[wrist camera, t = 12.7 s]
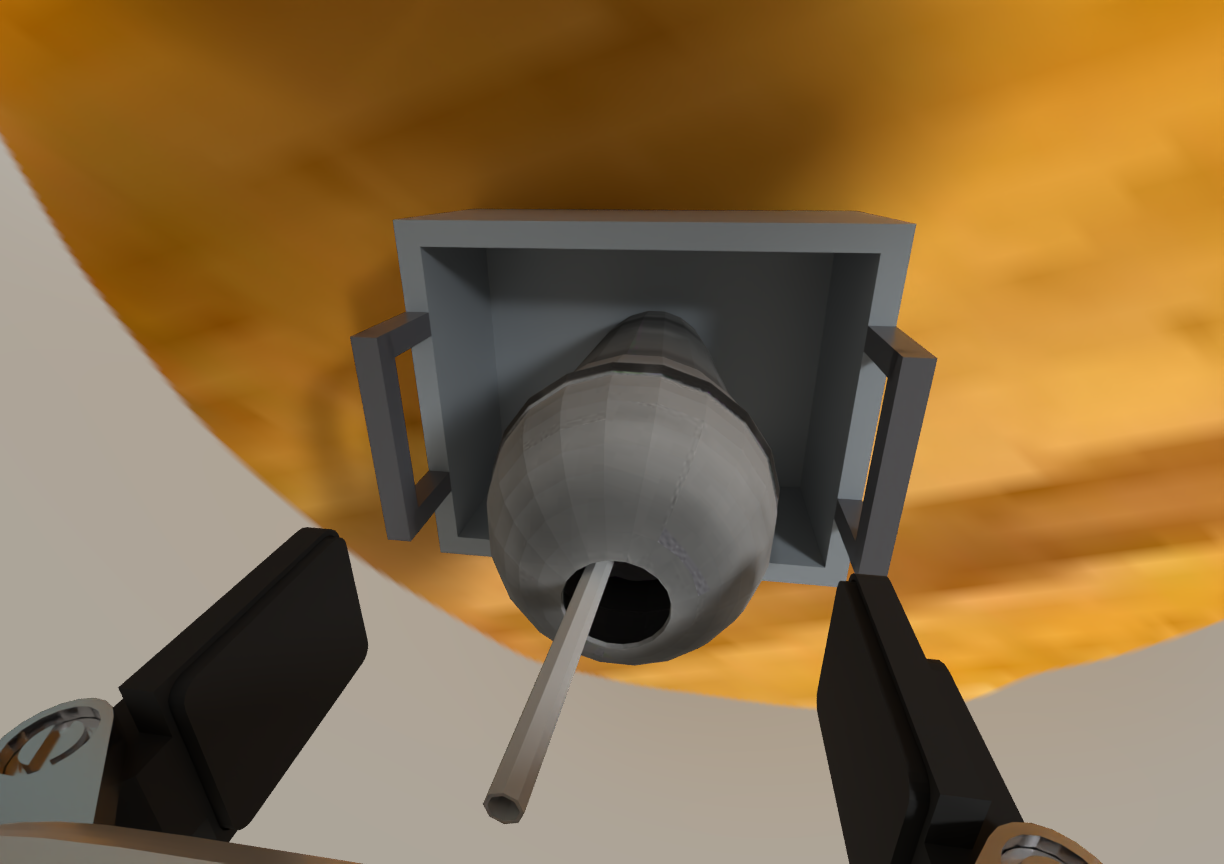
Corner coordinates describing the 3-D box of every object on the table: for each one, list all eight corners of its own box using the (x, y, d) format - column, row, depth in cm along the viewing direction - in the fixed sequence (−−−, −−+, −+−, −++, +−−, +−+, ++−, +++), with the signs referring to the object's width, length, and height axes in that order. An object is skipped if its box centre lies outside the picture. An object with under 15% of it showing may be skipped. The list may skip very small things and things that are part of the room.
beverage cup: (647, 468, 27) (575, 1060, 9) (536, 355, 26) (179, 810, 7) (775, 369, 25) (1027, 927, 7) (660, 237, 23) (573, 496, 5)
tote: (856, 210, 23) (965, 234, 13) (812, 493, 28) (868, 656, 18) (472, 208, 25) (329, 228, 15) (496, 472, 30) (400, 608, 20)
